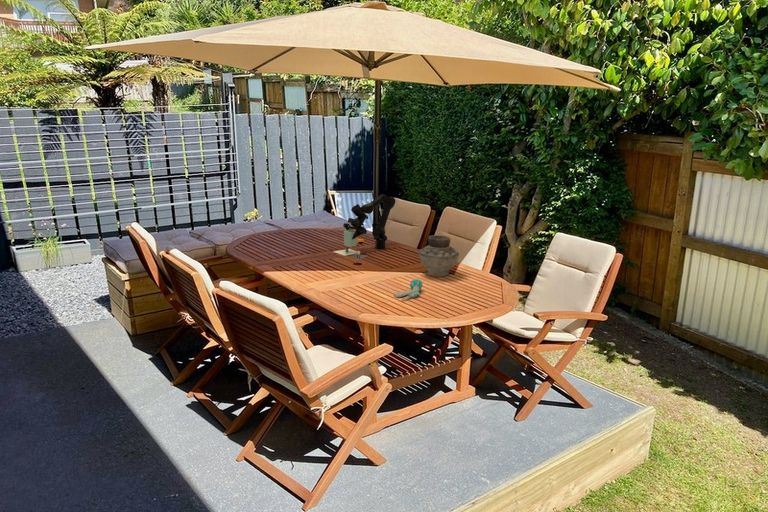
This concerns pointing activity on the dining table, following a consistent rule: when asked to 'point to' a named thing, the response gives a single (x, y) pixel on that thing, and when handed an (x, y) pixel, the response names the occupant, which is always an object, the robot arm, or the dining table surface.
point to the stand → (358, 255)
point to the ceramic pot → (438, 256)
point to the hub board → (346, 252)
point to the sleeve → (349, 238)
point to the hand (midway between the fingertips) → (348, 238)
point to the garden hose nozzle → (415, 286)
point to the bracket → (358, 238)
